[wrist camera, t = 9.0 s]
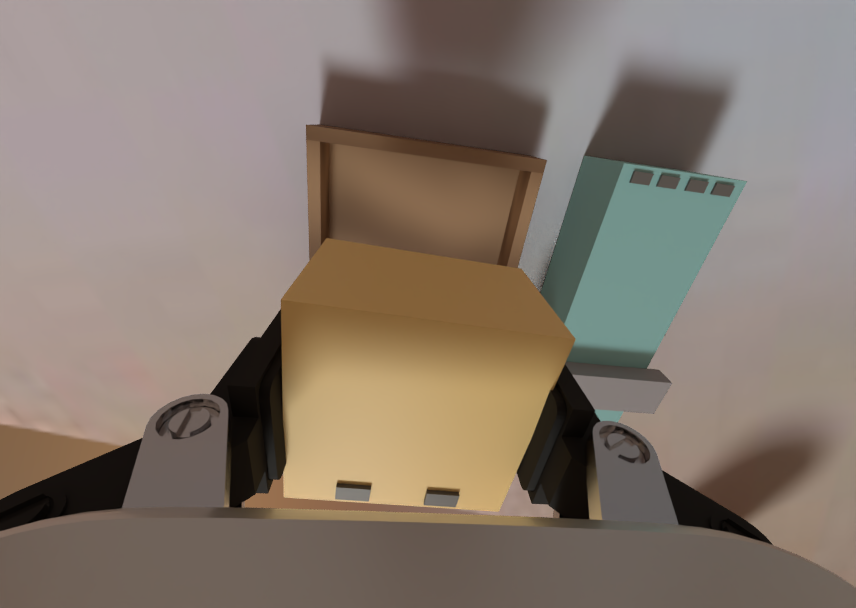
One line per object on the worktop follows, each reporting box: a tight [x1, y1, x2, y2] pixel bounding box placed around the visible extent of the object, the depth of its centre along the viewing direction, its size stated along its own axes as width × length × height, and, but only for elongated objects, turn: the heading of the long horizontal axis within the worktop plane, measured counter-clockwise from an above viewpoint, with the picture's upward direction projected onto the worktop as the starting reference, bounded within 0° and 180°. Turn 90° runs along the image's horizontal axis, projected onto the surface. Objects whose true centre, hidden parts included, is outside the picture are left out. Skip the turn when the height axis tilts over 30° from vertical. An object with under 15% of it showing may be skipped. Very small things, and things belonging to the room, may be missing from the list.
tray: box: [306, 125, 547, 268], centre depth 19 cm, size 11×11×2 cm
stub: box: [281, 238, 576, 512], centre depth 10 cm, size 6×6×4 cm
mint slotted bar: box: [540, 156, 747, 422], centre depth 20 cm, size 16×8×5 cm, turn 172°
